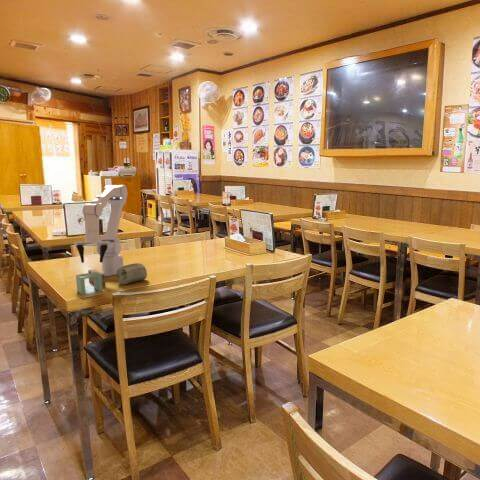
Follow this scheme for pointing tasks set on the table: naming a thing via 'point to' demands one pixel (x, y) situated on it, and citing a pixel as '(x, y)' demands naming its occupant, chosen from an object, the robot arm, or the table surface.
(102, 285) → the tall brown box
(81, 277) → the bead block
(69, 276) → the table surface
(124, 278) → the spool
